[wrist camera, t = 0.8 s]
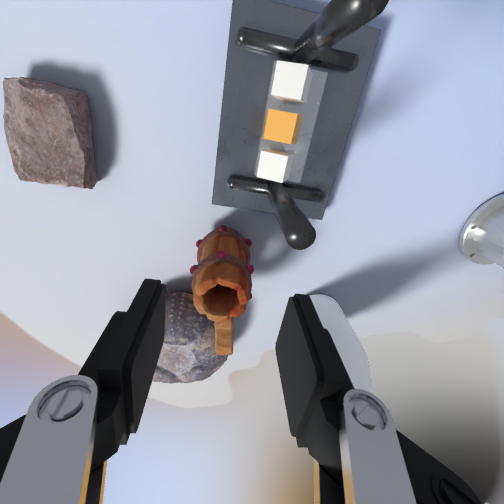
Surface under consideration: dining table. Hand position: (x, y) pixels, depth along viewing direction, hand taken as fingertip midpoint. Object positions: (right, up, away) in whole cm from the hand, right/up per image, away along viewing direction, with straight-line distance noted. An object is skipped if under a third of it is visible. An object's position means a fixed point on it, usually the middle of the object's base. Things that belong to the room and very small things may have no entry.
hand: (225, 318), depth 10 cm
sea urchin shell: (-12, -11, +39) cm, 42 cm away
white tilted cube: (+6, +21, +18) cm, 28 cm away
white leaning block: (+5, +14, +22) cm, 26 cm away
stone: (-23, +17, +23) cm, 37 cm away
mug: (-3, +1, +33) cm, 33 cm away
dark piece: (+5, +19, +24) cm, 31 cm away
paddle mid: (+5, +17, +20) cm, 27 cm away
